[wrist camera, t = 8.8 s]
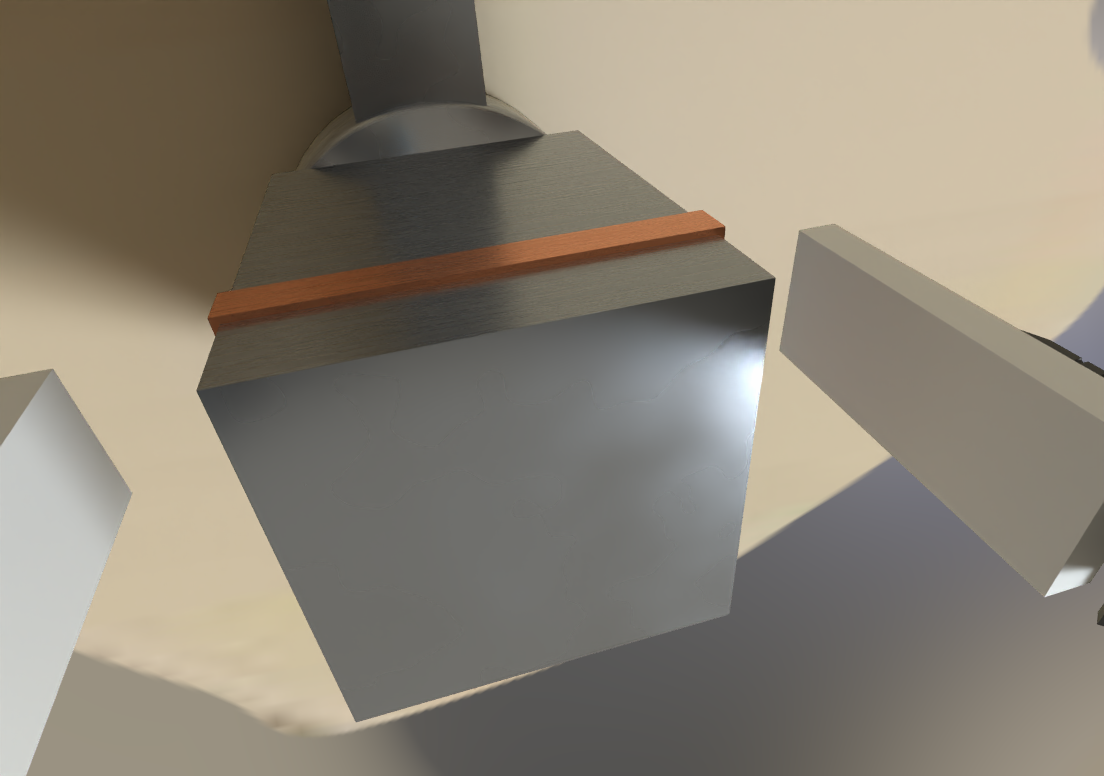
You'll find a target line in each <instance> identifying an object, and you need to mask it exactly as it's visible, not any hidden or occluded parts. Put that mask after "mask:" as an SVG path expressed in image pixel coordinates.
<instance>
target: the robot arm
mask: <svg viewBox="0 0 1104 776" xmlns="http://www.w3.org/2000/svg"><path fill="white" fill-rule="evenodd" d="M779 351H780V352H782V353H783V354H784V355H785V356H786V357H787V358H788V359H789V360H790V361H791V362H792V363H793V364H794V365H795V366H797V367H798V368H799V369H800V370H801V371H802V372H803V373H804V374H805V375H806V376H807V377H808V378H809V379H811V380H812V381H813V382H814V383H815V384H816V385H817V386H818V387H819V388H820V389H821V390H822V391H823V392H824V393H826V394H827V395H828V396H829V397H830V398H831V399H832V400H833V401H834V402H835V403H836V404H837V405H838V406H840V407H841V408H842V409H843V410H844V411H845V412H846V413H847V414H848V415H849V416H850V417H851V418H852V419H853V420H855V421H856V422H857V423H858V424H859V425H860V426H861V427H862V428H863V429H864V430H865V431H866V432H867V433H869V434H870V435H871V436H872V437H873V438H874V439H875V440H876V441H877V442H878V443H879V444H880V445H881V446H882V447H884V448H885V449H886V450H887V451H888V452H889V453H890V454H891V455H892V456H893V457H894V458H895V459H896V460H897V461H899V462H900V463H901V464H902V465H903V466H904V467H905V468H906V469H907V470H908V471H910V473H911V474H913V475H914V476H915V477H916V478H917V479H918V480H919V481H920V482H921V483H922V484H923V485H924V486H926V488H928V489H929V490H930V491H931V492H932V493H933V494H934V495H935V496H936V497H937V498H938V499H940V500H941V501H942V502H943V503H944V504H945V505H946V506H947V507H948V508H949V509H950V510H951V511H952V512H953V513H954V514H955V515H957V516H958V517H959V518H960V519H961V520H962V521H963V522H964V523H965V524H966V525H967V526H968V527H970V528H971V529H972V530H973V531H974V532H975V533H976V534H977V535H978V536H979V537H980V538H981V539H982V540H983V541H985V542H986V543H987V544H988V545H989V546H990V547H991V548H992V549H993V550H994V551H995V552H996V553H997V554H998V555H1000V556H1001V557H1002V558H1003V559H1004V560H1005V561H1006V562H1007V563H1008V564H1009V565H1010V566H1011V567H1012V568H1014V569H1015V570H1016V571H1017V572H1018V573H1019V574H1020V575H1021V576H1022V577H1023V578H1024V579H1025V580H1026V581H1027V582H1029V583H1030V584H1031V585H1032V586H1033V587H1034V588H1035V589H1036V590H1037V591H1038V592H1039V593H1040V594H1041V595H1042V596H1044V597H1046V596H1049V595H1052V594H1056V593H1059V592H1062V591H1065V590H1068V589H1071V588H1075V587H1077V586H1081V585H1084V584H1087V583H1090V582H1091V581H1092V579H1093V578H1094V576H1095V575H1096V573H1097V572H1098V570H1099V569H1100V567H1101V566H1102V564H1103V563H1104V370H1102V369H1101V368H1098V367H1097V366H1095V365H1093V364H1092V363H1090V362H1085V363H1083V362H1082V358H1081V357H1079V356H1077V355H1076V354H1074V353H1072V352H1070V351H1068V350H1067V349H1065V348H1063V347H1061V346H1060V345H1058V344H1056V343H1054V342H1052V341H1051V340H1048V339H1045V338H1042V337H1040V336H1037V335H1034V334H1031V333H1028V332H1025V331H1022V330H1019V329H1018V328H1016V327H1014V326H1012V325H1011V324H1009V323H1007V322H1005V321H1004V320H1002V319H1000V318H998V317H997V316H995V315H993V314H991V313H990V312H988V311H986V310H984V309H983V308H981V307H979V306H977V305H976V304H974V303H972V302H970V301H969V300H967V299H965V298H963V297H962V296H960V295H958V294H956V293H955V292H953V291H951V290H949V289H948V288H946V287H944V286H942V285H941V284H939V283H937V282H935V281H934V280H932V279H930V278H928V277H927V276H925V275H923V274H921V273H920V272H918V271H916V270H914V269H913V268H911V267H909V266H907V265H906V264H904V263H902V262H900V261H899V260H897V259H895V258H893V257H892V256H890V255H888V254H886V253H885V252H883V251H881V250H879V249H878V248H876V247H874V246H872V245H871V244H869V243H867V242H865V241H864V240H862V239H860V238H858V237H857V236H855V235H853V234H851V233H850V232H848V231H846V230H844V229H843V228H841V227H839V226H837V225H836V224H831V225H825V226H820V227H814V228H809V229H804V230H799V235H798V241H797V247H796V253H795V259H794V265H793V271H792V277H791V283H790V289H789V295H788V301H787V307H786V314H785V320H784V326H783V332H782V338H781V344H780V350H779ZM131 495H132V492H131V490H130V489H129V487H128V486H127V484H126V482H125V481H124V479H123V478H122V476H121V475H120V473H119V472H118V470H117V468H116V467H115V465H114V464H113V462H112V461H111V459H110V457H109V456H108V454H107V453H106V451H105V450H104V448H103V446H102V445H101V443H100V442H99V440H98V439H97V437H96V436H95V434H94V432H93V431H92V429H91V428H90V426H89V425H88V423H87V421H86V420H85V418H84V417H83V415H82V414H81V412H80V410H79V409H78V407H77V406H76V404H75V403H74V401H73V400H72V398H71V396H70V395H69V393H68V392H67V390H66V389H65V387H64V385H63V384H62V382H61V381H60V379H59V378H58V376H57V374H56V373H55V371H54V370H53V369H48V370H43V371H37V372H32V373H27V374H21V375H16V376H10V377H5V378H0V776H26V774H27V771H28V769H29V766H30V764H31V761H32V758H33V756H34V753H35V750H36V748H37V745H38V742H39V740H40V737H41V734H42V732H43V729H44V726H45V724H46V721H47V718H48V716H49V713H50V710H51V708H52V705H53V703H54V700H55V697H56V694H57V692H58V689H59V687H60V684H61V681H62V679H63V676H64V673H65V671H66V668H67V665H68V663H69V660H70V657H71V655H72V652H73V649H74V647H75V644H76V641H77V639H78V636H79V633H80V631H81V628H82V625H83V623H84V620H85V617H86V615H87V612H88V610H89V607H90V604H91V602H92V599H93V596H94V594H95V591H96V588H97V586H98V583H99V580H100V578H101V575H102V572H103V570H104V567H105V564H106V562H107V559H108V556H109V554H110V551H111V548H112V546H113V543H114V540H115V538H116V535H117V532H118V530H119V527H120V524H121V522H122V519H123V516H124V514H125V511H126V509H127V506H128V503H129V501H130V498H131ZM1097 624H1098V625H1102V626H1104V604H1103V606H1102V607H1101V608H1100V610H1099V611H1098V619H1097Z"/></svg>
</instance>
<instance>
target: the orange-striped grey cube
mask: <svg viewBox="0 0 1104 776" xmlns="http://www.w3.org/2000/svg"><path fill="white" fill-rule="evenodd" d="M724 237H725V226H724V225H723V224H721V223H720V222H718V221H717V220H716V219H714V218H713V217H711V216H710V215H709V214H707V213H706V212H704V211H703V210H699V211H694V212H687V211H685V210H684V209H683V208H681V207H680V206H679V205H677V204H676V203H675V202H673V201H672V200H671V199H669V198H668V197H667V196H665V195H664V194H663V193H661V192H660V191H659V190H657V189H656V188H655V187H653V186H652V185H651V184H649V183H648V182H647V181H645V180H644V179H643V178H641V177H640V176H639V175H637V174H636V173H635V172H633V171H632V170H631V169H629V168H628V167H627V166H625V165H624V164H623V163H621V162H620V161H618V160H617V159H616V158H614V157H613V156H612V155H610V154H609V153H608V152H606V151H605V150H604V149H602V148H601V147H600V146H598V145H597V144H596V143H594V142H593V141H592V140H590V139H589V138H588V137H586V136H585V135H584V134H582V133H581V132H580V131H578V130H577V131H570V132H563V133H556V134H549V135H542V136H535V137H528V138H521V139H514V140H507V141H500V142H493V143H486V144H479V145H472V146H465V147H458V148H451V149H445V150H438V151H431V152H424V153H417V154H410V155H403V156H396V157H389V158H382V159H375V160H368V161H361V162H354V163H347V164H340V165H333V166H326V167H319V168H312V169H305V170H298V171H291V172H285V173H278V174H272V177H271V179H270V182H269V185H268V188H267V191H266V194H265V197H264V199H263V202H262V205H261V208H260V211H259V214H258V217H257V219H256V222H255V225H254V228H253V231H252V234H251V236H250V239H249V242H248V245H247V248H246V251H245V254H244V256H243V259H242V262H241V265H240V268H239V271H238V274H237V276H236V279H235V282H234V285H233V288H232V291H228V292H222V293H217V296H216V298H215V301H214V303H213V306H212V308H211V311H210V313H209V316H208V321H209V323H210V325H211V327H212V330H213V332H214V334H215V339H214V342H213V345H212V348H211V351H210V353H209V356H208V359H207V362H206V365H205V368H204V371H203V373H202V376H201V379H200V382H199V385H198V388H197V393H198V395H199V397H200V399H201V401H202V403H203V406H204V408H205V410H206V412H207V414H208V416H209V418H210V420H211V422H212V424H213V426H214V428H215V430H216V433H217V435H218V437H219V439H220V441H221V443H222V445H223V447H224V449H225V451H226V453H227V455H228V458H229V460H230V462H231V464H232V466H233V468H234V470H235V472H236V474H237V476H238V478H239V480H240V482H241V485H242V487H243V489H244V491H245V493H246V495H247V497H248V499H249V501H250V503H251V505H252V507H253V509H254V512H255V514H256V516H257V518H258V520H259V522H260V524H261V526H262V528H263V530H264V532H265V534H266V536H267V539H268V541H269V543H270V545H271V547H272V549H273V551H274V553H275V555H276V557H277V559H278V561H279V564H280V566H281V568H282V570H283V572H284V574H285V576H286V578H287V580H288V582H289V584H290V586H291V588H292V591H293V593H294V595H295V597H296V599H297V601H298V603H299V605H300V607H301V609H302V611H303V613H304V615H305V618H306V620H307V622H308V624H309V626H310V628H311V630H312V632H313V634H314V636H315V638H316V640H317V642H318V645H319V647H320V649H321V651H322V653H323V655H324V657H325V659H326V661H327V663H328V665H329V667H330V669H331V672H332V674H333V676H334V678H335V680H336V682H337V684H338V686H339V688H340V690H341V692H342V694H343V697H344V699H345V701H346V703H347V705H348V707H349V709H350V711H351V713H352V715H353V717H354V719H355V721H356V722H359V721H363V720H366V719H369V718H373V717H376V716H380V715H383V714H387V713H390V712H394V711H397V710H401V709H404V708H407V707H411V706H414V705H418V704H421V703H425V702H428V701H432V700H435V699H438V698H442V697H445V696H449V695H452V694H456V693H459V692H463V691H466V690H470V689H473V688H476V687H480V686H483V685H487V684H490V683H494V682H497V681H501V680H504V679H508V678H511V677H514V676H518V675H521V674H525V673H528V672H532V671H535V670H539V669H542V668H545V667H549V666H552V665H556V664H559V663H563V662H566V661H570V660H573V659H576V658H580V657H583V656H587V655H590V654H594V653H597V652H601V651H604V650H607V649H610V648H614V647H618V646H621V645H625V644H628V643H632V642H635V641H638V640H642V639H646V638H649V637H652V636H656V635H659V634H663V633H666V632H670V631H673V630H677V629H680V628H683V627H687V626H690V625H694V624H697V623H700V622H704V621H708V620H711V619H715V618H718V617H721V616H725V615H728V614H729V613H730V605H731V598H732V591H733V583H734V576H735V569H736V562H737V555H738V547H739V540H740V533H741V525H742V518H743V511H744V504H745V496H746V489H747V482H748V475H749V467H750V460H751V453H752V446H753V438H754V431H755V424H756V416H757V409H758V402H759V395H760V387H761V380H762V373H763V366H764V358H765V351H766V344H767V337H768V329H769V322H770V315H771V307H772V300H773V293H774V286H775V277H774V276H773V275H771V274H770V273H769V272H767V271H766V270H765V269H763V268H762V267H761V266H759V265H758V264H757V263H755V262H754V261H752V260H751V259H750V258H748V257H747V256H746V255H744V254H743V253H742V252H740V251H739V250H738V249H736V248H735V247H734V246H732V245H731V244H730V243H728V242H727V241H726V240H724Z"/></svg>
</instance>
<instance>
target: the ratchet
mask: <svg viewBox="0 0 1104 776" xmlns="http://www.w3.org/2000/svg"><path fill="white" fill-rule="evenodd" d="M327 2H328V6H329V10H330V15H331V19H332V23H333V27H334V32H335V36H336V40H337V44H338V49H339V53H340V57H341V61H342V65H343V70H344V74H345V78H346V82H347V87H348V91H349V95H350V99H351V103H352V107H350V108H349V109H347V110H346V111H344V112H343V113H342V114H340V115H339V116H338V117H336V118H335V119H334V120H332V121H331V122H330V123H329V124H328V125H327V126H326V127H325V128H324V129H323V130H322V131H321V132H320V133H319V134H318V135H317V137H316V138H315V139H314V141H313V142H312V143H311V145H310V146H309V148H308V149H307V150H306V152H305V153H304V155H303V157H302V159H301V161H300V163H299V165H298V166H297V168H296V170H295V171H298V170H305V169H312V168H319V167H326V166H333V165H340V164H347V163H354V162H361V161H368V160H375V159H382V158H389V157H396V156H403V155H410V154H417V153H424V152H431V151H438V150H445V149H451V148H458V147H465V146H472V145H479V144H486V143H493V142H500V141H507V140H514V139H521V138H528V137H535V136H542V135H547V134H545V133H544V132H543V131H542V130H541V129H540V128H539V127H538V126H536V125H535V124H534V123H533V122H532V121H531V120H529V119H528V118H527V117H525V116H524V115H523V114H521V113H520V112H519V111H517V110H516V109H515V108H513V107H511V106H509V105H507V104H506V103H504V102H502V101H500V100H498V99H497V98H494V97H491V96H489V95H486V94H485V85H484V77H483V69H482V61H481V53H480V45H479V37H478V29H477V21H476V13H475V5H474V0H327Z"/></svg>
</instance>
